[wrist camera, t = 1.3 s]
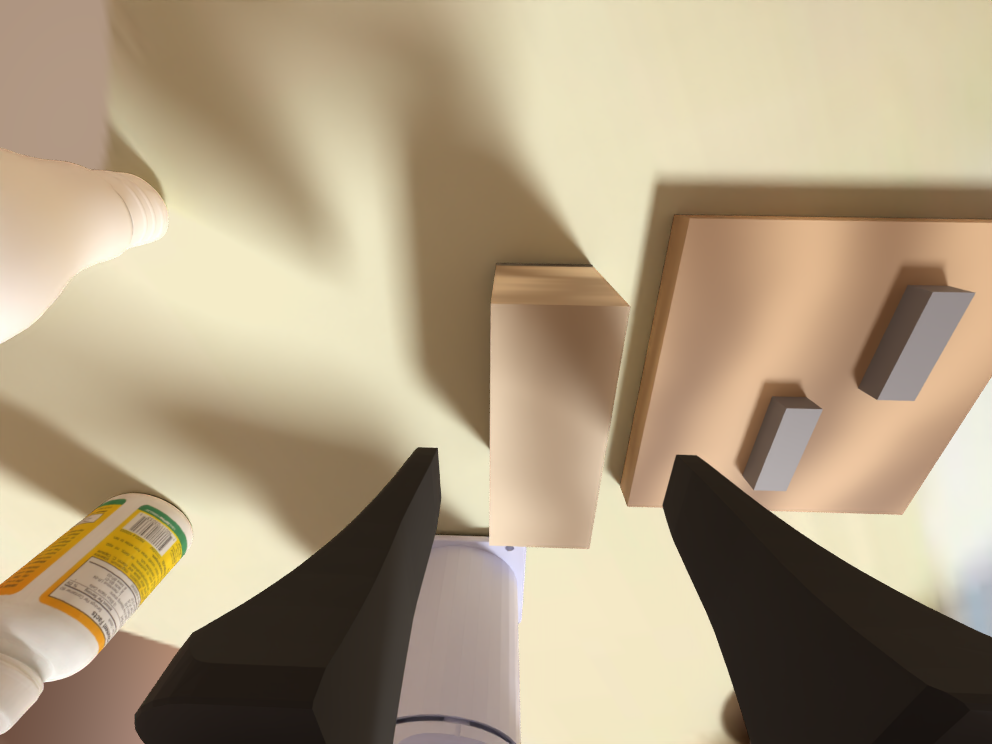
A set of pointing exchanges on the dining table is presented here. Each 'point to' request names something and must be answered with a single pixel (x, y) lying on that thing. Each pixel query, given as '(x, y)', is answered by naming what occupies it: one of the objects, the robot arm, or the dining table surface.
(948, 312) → the grey rectangular block
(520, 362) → the block
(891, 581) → the dining table surface
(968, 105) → the dining table surface
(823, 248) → the oak board
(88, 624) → the supplement bottle
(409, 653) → the robot arm
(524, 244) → the dining table surface
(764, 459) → the small gray block
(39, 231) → the lightbulb
